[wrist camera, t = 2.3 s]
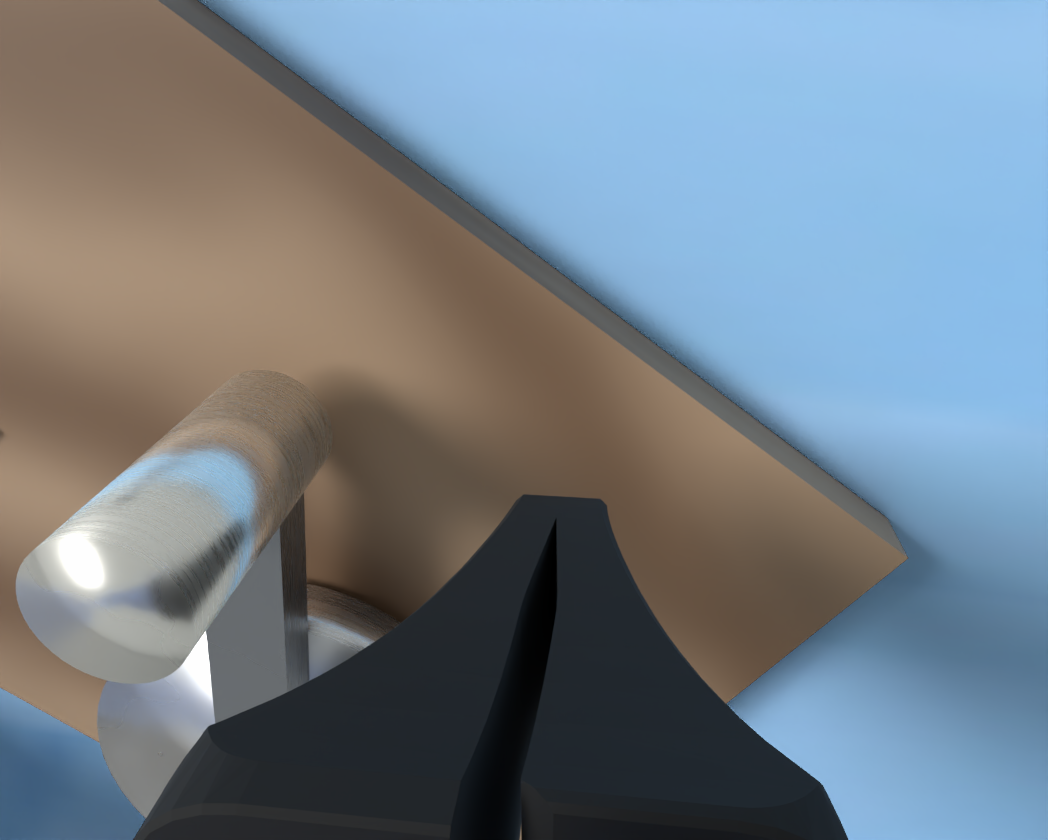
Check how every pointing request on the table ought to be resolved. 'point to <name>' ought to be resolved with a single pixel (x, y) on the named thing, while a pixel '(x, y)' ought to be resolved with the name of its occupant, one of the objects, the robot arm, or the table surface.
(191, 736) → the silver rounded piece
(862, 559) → the stand board
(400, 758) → the robot arm
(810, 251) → the table surface
